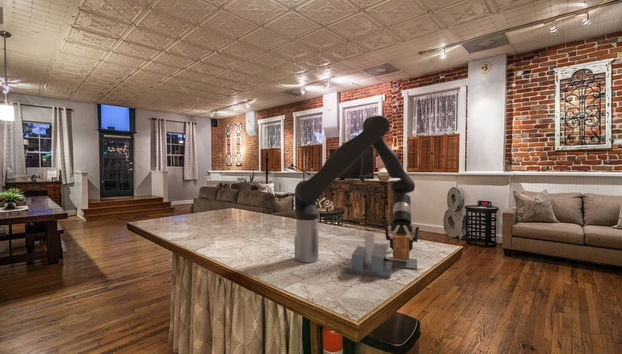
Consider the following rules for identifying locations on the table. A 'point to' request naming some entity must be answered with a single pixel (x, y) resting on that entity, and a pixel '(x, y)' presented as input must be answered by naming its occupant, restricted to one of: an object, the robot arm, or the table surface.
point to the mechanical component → (382, 246)
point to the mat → (404, 263)
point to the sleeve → (401, 246)
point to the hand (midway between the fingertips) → (401, 249)
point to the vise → (370, 260)
